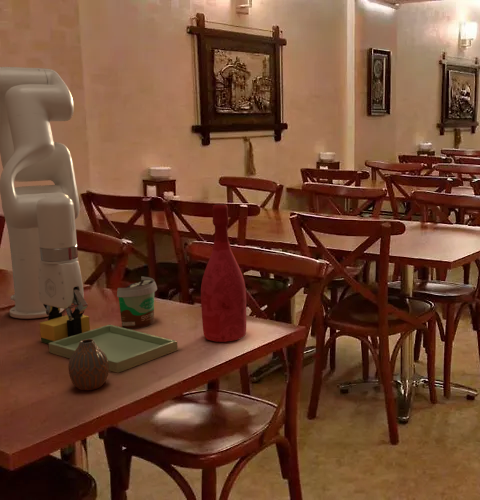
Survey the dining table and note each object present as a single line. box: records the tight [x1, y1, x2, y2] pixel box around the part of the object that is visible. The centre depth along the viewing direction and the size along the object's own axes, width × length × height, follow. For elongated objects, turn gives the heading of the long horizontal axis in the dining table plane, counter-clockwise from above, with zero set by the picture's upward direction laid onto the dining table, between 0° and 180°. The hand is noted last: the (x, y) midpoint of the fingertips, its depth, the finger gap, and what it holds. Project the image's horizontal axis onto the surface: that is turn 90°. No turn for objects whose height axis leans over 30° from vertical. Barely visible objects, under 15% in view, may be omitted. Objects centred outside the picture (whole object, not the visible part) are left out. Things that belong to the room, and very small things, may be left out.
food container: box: [116, 276, 158, 330], centre depth 166 cm, size 12×6×10 cm, turn 168°
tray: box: [48, 324, 179, 374], centre depth 148 cm, size 22×16×2 cm
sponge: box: [39, 314, 91, 345], centre depth 156 cm, size 5×9×4 cm, turn 147°
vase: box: [68, 339, 110, 391], centre depth 128 cm, size 7×7×9 cm
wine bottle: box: [200, 203, 247, 343], centre depth 155 cm, size 10×10×30 cm
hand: (65, 332), depth 156 cm, fingers open, 5 cm apart
